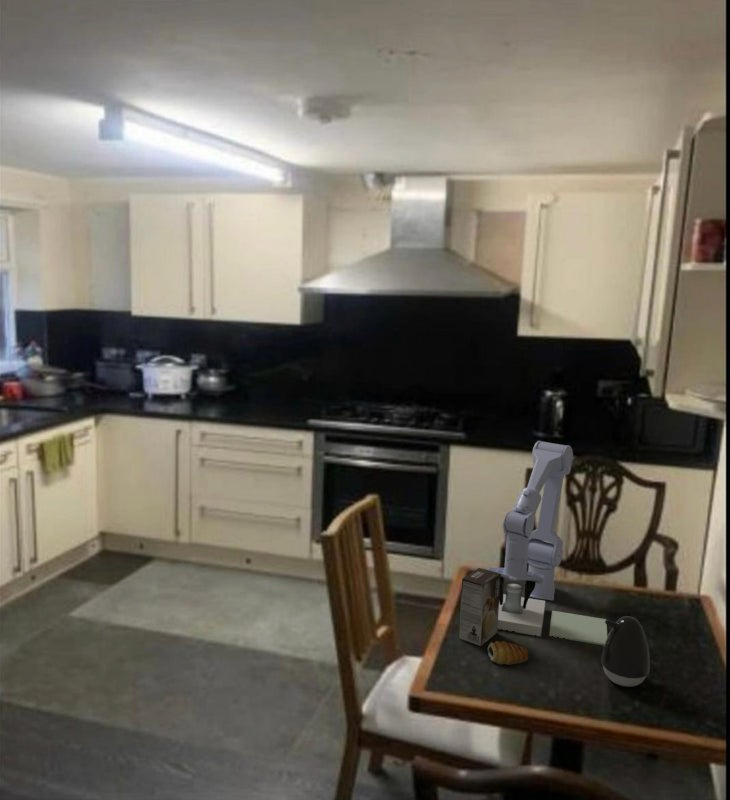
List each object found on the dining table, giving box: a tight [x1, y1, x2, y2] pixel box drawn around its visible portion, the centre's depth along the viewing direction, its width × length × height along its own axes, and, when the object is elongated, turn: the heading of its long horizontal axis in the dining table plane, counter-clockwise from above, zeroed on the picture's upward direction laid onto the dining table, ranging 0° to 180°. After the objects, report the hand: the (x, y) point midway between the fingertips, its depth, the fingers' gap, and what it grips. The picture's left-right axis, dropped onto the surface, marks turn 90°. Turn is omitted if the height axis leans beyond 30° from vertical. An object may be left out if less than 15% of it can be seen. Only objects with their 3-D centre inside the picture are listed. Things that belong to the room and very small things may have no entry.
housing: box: [497, 593, 546, 637], centre depth 188 cm, size 16×16×2 cm
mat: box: [548, 610, 608, 647], centre depth 184 cm, size 14×14×1 cm
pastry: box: [487, 640, 529, 666], centre depth 168 cm, size 9×7×4 cm
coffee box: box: [458, 567, 501, 647], centre depth 177 cm, size 9×6×16 cm
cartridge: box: [504, 583, 524, 614], centre depth 188 cm, size 4×4×8 cm
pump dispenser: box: [600, 615, 651, 688], centre depth 159 cm, size 10×10×15 cm
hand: (512, 605), depth 188 cm, fingers open, 5 cm apart
